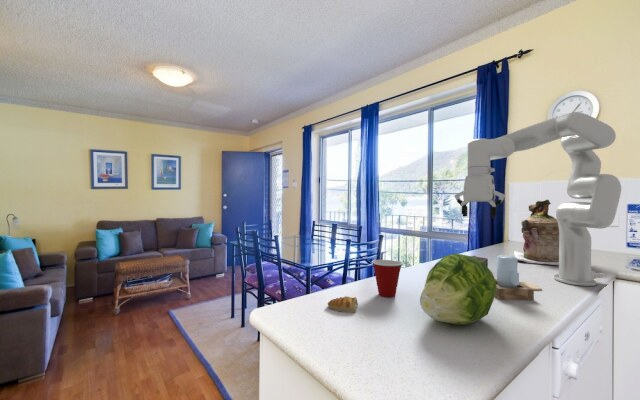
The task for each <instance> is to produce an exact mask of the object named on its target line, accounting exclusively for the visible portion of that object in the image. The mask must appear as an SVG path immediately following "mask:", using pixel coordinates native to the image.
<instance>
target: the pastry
mask: <svg viewBox="0 0 640 400" xmlns="http://www.w3.org/2000/svg"><path fill="white" fill-rule="evenodd" d="M327 305H328V308H329V309H330V310H332V309H333V311H337V312H340V311H342V312H343V313H352V314H354V313H356V312H358V311H357V310H358V307H359V303H358V299H357V297H356V296H354V297H351V296H343V297H336V298H333V299H331V300H329V301H328V302H327Z"/></svg>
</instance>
